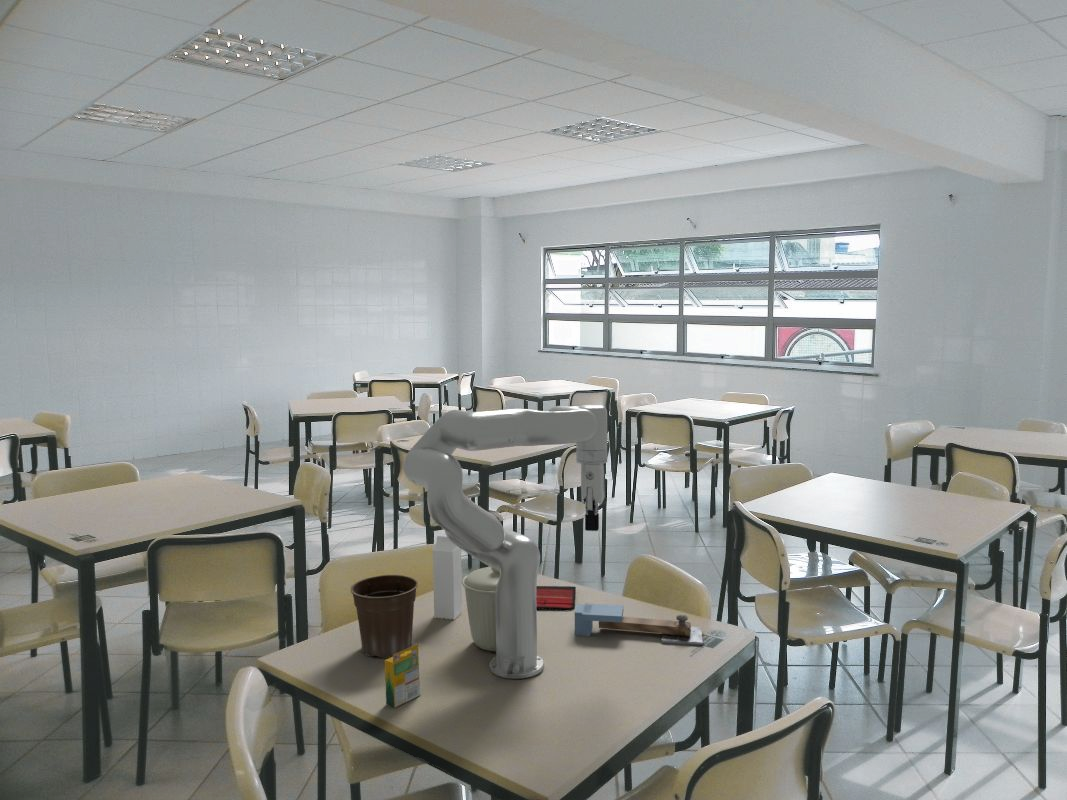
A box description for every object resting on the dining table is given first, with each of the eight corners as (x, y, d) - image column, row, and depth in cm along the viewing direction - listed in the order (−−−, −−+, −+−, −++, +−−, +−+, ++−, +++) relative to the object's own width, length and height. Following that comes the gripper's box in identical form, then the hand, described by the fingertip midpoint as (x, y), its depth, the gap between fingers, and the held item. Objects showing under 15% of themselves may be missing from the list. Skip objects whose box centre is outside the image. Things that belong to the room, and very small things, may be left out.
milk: (442, 610, 222) (440, 533, 220) (462, 612, 220) (461, 534, 218) (433, 618, 216) (431, 538, 214) (454, 620, 214) (452, 540, 212)
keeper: (621, 639, 200) (621, 616, 199) (574, 636, 202) (574, 613, 201) (623, 627, 208) (623, 605, 207) (577, 624, 210) (577, 602, 209)
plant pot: (372, 668, 185) (370, 601, 183) (341, 647, 197) (339, 584, 196) (432, 649, 195) (430, 586, 193) (398, 630, 207) (397, 570, 206)
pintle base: (702, 645, 196) (702, 642, 196) (661, 643, 197) (661, 640, 197) (701, 630, 205) (701, 627, 205) (662, 627, 207) (662, 624, 207)
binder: (505, 584, 237) (575, 585, 236) (505, 591, 238) (575, 593, 236) (499, 605, 222) (574, 607, 220) (499, 613, 222) (574, 615, 220)
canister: (451, 654, 192) (449, 569, 190) (478, 626, 210) (477, 548, 207) (522, 662, 187) (521, 575, 185) (544, 633, 204) (543, 553, 202)
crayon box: (411, 691, 173) (409, 640, 172) (420, 695, 171) (419, 643, 170) (385, 704, 167) (383, 651, 166) (394, 708, 166) (393, 655, 164)
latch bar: (691, 630, 203) (691, 614, 202) (690, 636, 199) (690, 620, 198) (601, 622, 209) (601, 607, 208) (598, 628, 204) (598, 613, 204)
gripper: (604, 461, 185) (604, 538, 186) (609, 451, 199) (609, 522, 201) (572, 460, 186) (573, 537, 188) (579, 450, 201) (580, 521, 202)
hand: (591, 529), depth 194 cm, fingers closed
